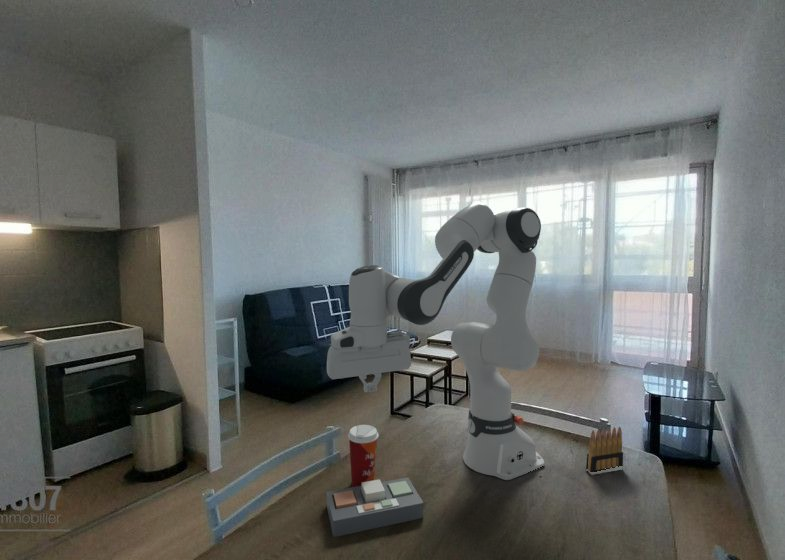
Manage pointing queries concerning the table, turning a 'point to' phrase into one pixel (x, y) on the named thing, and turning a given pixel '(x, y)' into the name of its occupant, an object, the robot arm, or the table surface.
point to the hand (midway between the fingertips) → (370, 391)
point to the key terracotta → (344, 499)
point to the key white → (372, 491)
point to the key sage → (399, 489)
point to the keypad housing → (373, 510)
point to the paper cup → (362, 453)
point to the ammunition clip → (605, 450)
